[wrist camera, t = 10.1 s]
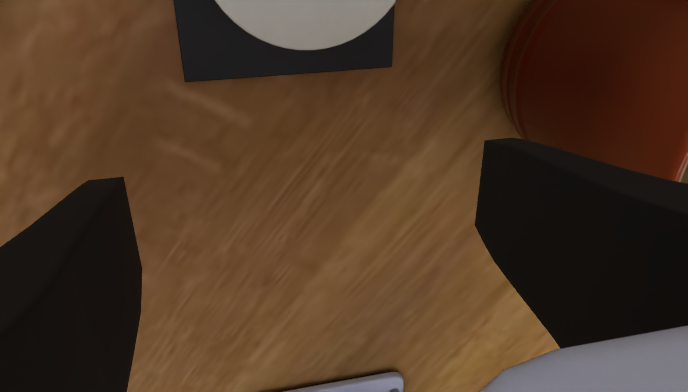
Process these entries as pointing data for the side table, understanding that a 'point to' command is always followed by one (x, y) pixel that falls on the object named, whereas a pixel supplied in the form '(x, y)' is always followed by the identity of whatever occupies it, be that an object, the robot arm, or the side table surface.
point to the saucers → (305, 20)
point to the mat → (266, 48)
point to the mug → (602, 81)
